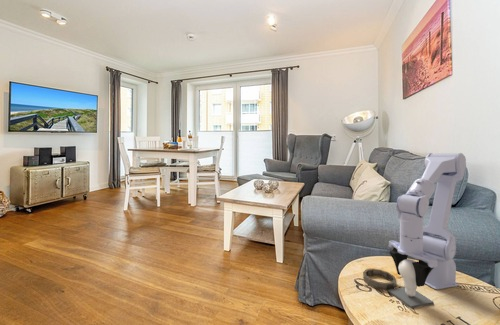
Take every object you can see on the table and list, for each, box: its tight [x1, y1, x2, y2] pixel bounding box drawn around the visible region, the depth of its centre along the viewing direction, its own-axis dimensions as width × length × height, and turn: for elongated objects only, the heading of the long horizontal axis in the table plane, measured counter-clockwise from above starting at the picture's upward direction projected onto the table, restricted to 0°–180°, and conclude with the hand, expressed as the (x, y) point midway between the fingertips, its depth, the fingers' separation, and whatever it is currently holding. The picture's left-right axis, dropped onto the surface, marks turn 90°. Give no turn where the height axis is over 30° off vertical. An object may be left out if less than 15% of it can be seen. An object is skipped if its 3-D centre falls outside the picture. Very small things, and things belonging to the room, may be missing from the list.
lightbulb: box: [398, 258, 418, 297], centre depth 70 cm, size 6×6×11 cm
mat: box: [387, 286, 434, 309], centre depth 71 cm, size 8×8×1 cm
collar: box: [362, 268, 397, 291], centre depth 79 cm, size 10×10×2 cm
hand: (410, 279), depth 70 cm, fingers closed on lightbulb, 6 cm apart
